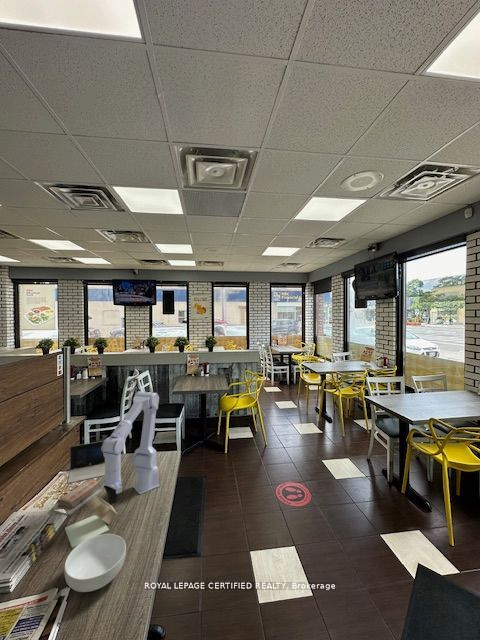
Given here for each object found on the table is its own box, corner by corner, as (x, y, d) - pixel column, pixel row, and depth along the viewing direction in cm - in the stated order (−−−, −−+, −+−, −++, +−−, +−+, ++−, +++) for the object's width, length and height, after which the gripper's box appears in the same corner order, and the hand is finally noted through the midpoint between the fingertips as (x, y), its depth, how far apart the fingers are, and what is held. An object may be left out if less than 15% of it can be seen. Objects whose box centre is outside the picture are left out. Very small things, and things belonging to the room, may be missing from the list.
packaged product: (87, 476, 132) (104, 480, 129) (86, 486, 132) (104, 490, 129) (50, 499, 115) (69, 504, 112) (50, 511, 115) (69, 516, 112)
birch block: (112, 506, 114) (95, 494, 110) (117, 514, 109) (100, 501, 105) (104, 516, 112) (86, 504, 108) (109, 524, 107) (91, 512, 103)
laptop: (67, 484, 134) (67, 457, 134) (70, 471, 145) (70, 446, 145) (109, 475, 142) (109, 449, 141) (108, 463, 153) (108, 439, 153)
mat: (99, 513, 113) (99, 512, 113) (109, 530, 105) (109, 529, 105) (64, 528, 105) (64, 527, 105) (72, 548, 96) (72, 547, 96)
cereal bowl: (122, 595, 80) (122, 570, 80) (55, 612, 75) (55, 586, 75) (128, 548, 96) (128, 528, 96) (73, 560, 92) (73, 538, 92)
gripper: (96, 464, 114) (96, 498, 114) (108, 480, 103) (107, 517, 103) (114, 459, 118) (114, 491, 118) (127, 473, 108) (127, 508, 108)
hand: (112, 502), depth 111 cm, fingers closed
